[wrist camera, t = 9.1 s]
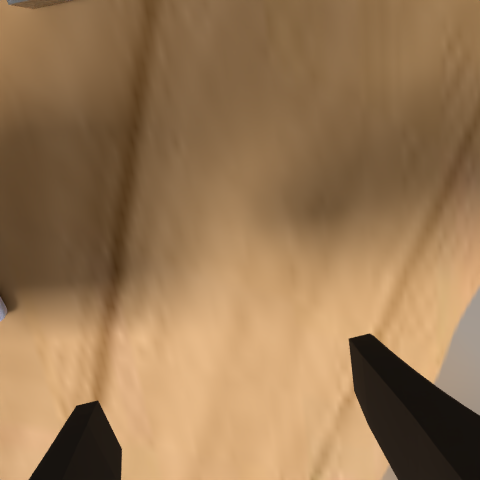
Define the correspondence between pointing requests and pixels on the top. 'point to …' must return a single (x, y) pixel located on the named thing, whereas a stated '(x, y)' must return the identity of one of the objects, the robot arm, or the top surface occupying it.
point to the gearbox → (34, 3)
